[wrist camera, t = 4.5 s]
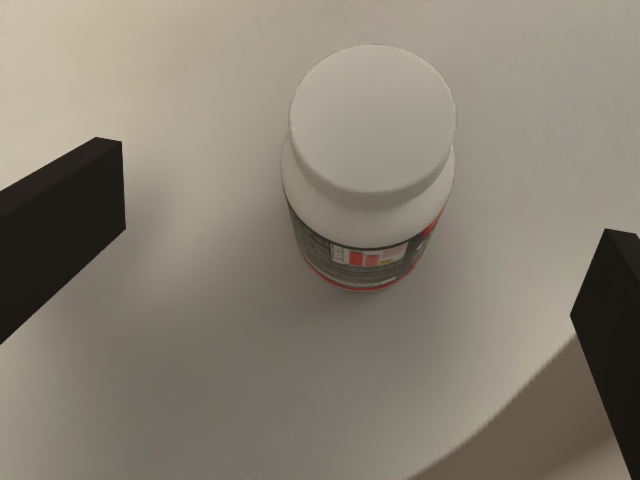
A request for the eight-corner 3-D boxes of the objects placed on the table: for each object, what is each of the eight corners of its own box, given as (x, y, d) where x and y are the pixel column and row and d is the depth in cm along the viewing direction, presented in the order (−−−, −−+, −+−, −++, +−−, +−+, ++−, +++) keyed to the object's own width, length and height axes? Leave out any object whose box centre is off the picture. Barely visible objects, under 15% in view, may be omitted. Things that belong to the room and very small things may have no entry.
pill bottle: (435, 287, 24) (494, 203, 15) (302, 301, 24) (276, 226, 15) (415, 164, 26) (457, 18, 16) (291, 177, 26) (261, 39, 16)
